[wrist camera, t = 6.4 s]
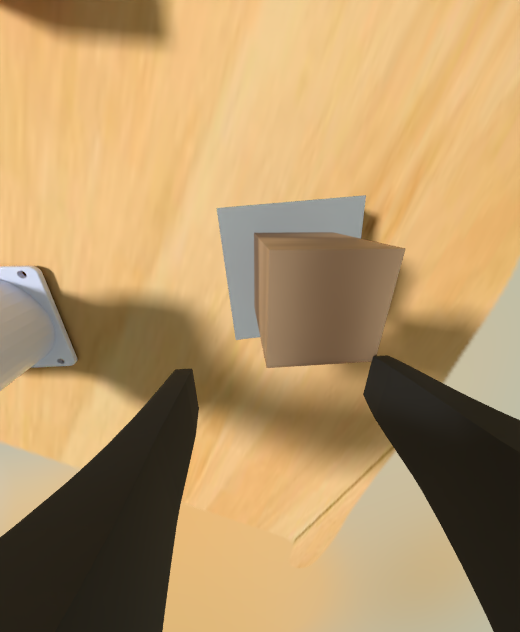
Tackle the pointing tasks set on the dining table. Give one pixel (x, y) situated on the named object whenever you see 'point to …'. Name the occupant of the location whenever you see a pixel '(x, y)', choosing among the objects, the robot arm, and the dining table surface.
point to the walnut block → (322, 296)
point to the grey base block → (275, 219)
